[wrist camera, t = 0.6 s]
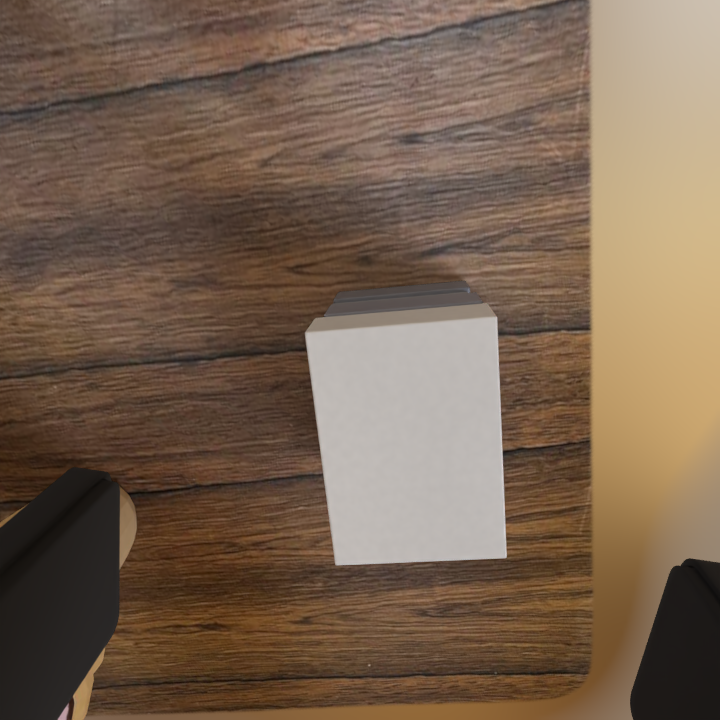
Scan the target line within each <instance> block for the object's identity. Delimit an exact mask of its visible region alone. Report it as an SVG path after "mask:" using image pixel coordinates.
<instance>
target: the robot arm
mask: <svg viewBox="0 0 720 720" xmlns="http://www.w3.org/2000/svg"><path fill="white" fill-rule="evenodd" d="M119 571H120V487H119V484H118V483H117V482H112V481H111V477H110V474H109V473H108V472H104V471H97V470H90V469H83V468H76V467H73V468H71V469H69V470H68V471H67V472H66V473H64V474H63V475H62V476H61V477H60V478H59V479H57V480H56V481H55V482H54V483H53V484H51V485H50V486H49V487H48V488H47V489H45V490H44V491H43V492H42V493H41V494H40V495H38V496H37V497H36V498H35V499H34V500H32V501H31V502H30V503H29V504H28V505H26V506H25V507H24V508H23V509H22V510H21V511H19V512H18V513H17V514H16V515H15V516H13V517H12V518H11V519H10V520H9V521H7V522H6V523H5V524H4V525H3V526H2V527H0V720H58V718H59V717H60V715H61V714H62V712H63V711H64V709H65V708H66V706H67V705H68V703H69V701H70V700H71V698H72V697H73V695H74V694H75V692H76V691H77V689H78V688H79V686H80V685H81V683H82V681H83V680H84V678H85V677H86V675H87V674H88V672H89V671H90V669H91V668H92V666H93V665H94V663H95V662H96V660H97V658H98V657H99V655H100V654H101V652H102V651H103V649H104V648H105V646H106V645H107V643H108V642H109V640H110V638H111V637H112V635H113V633H114V631H115V628H116V625H117V622H118V617H119ZM630 706H631V713H632V717H633V720H720V563H717V562H710V561H704V560H696V559H686V560H685V561H684V562H683V563H682V564H681V566H675V567H673V568H672V570H671V572H670V574H669V577H668V580H667V583H666V586H665V589H664V593H663V595H662V599H661V602H660V605H659V608H658V611H657V614H656V617H655V620H654V623H653V627H652V630H651V633H650V636H649V639H648V642H647V645H646V649H645V652H644V655H643V658H642V661H641V664H640V667H639V670H638V674H637V676H636V679H635V682H634V686H633V689H632V692H631V698H630Z"/></svg>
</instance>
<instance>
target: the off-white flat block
mask: <svg viewBox="0 0 720 720" xmlns="http://www.w3.org/2000/svg"><path fill="white" fill-rule="evenodd" d="M305 339H306V347H307V354H308V362H309V369H310V377H311V385H312V392H313V400H314V407H315V415H316V422H317V430H318V437H319V445H320V453H321V460H322V468H323V475H324V483H325V490H326V498H327V505H328V513H329V521H330V528H331V536H332V543H333V551H334V558H335V564H336V565H357V564H380V563H403V562H426V561H449V560H473V559H496V558H506V556H507V551H506V526H505V502H504V477H503V452H502V427H501V402H500V378H499V353H498V328H497V317H496V315H495V314H494V312H493V311H492V309H491V308H490V306H489V305H488V304H487V303H484V304H472V305H461V306H449V307H437V308H426V309H414V310H403V311H391V312H379V313H368V314H356V315H345V316H333V317H321V318H315V319H314V320H313V322H312V323H311V325H310V326H309V328H308V329H307V330H306V332H305Z"/></svg>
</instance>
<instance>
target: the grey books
mask: <svg viewBox="0 0 720 720" xmlns="http://www.w3.org/2000/svg"><path fill="white" fill-rule="evenodd" d="M472 304H483V302H482V300H481V298H480V297H479V295H478V294H477V293H476V292H475V293H470V287H469V286H468V284H467V283H466V281H455V282H444V283H433V284H422V285H411V286H400V287H389V288H378V289H366V290H355V291H344V292H338V294H337V295H336V297H335V298H334V304H332V305H330V307H329V308H328V310H327V311H326V313H325V314H324V317H333V316H345V315H356V314H368V313H379V312H391V311H403V310H414V309H426V308H437V307H449V306H461V305H472Z"/></svg>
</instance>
